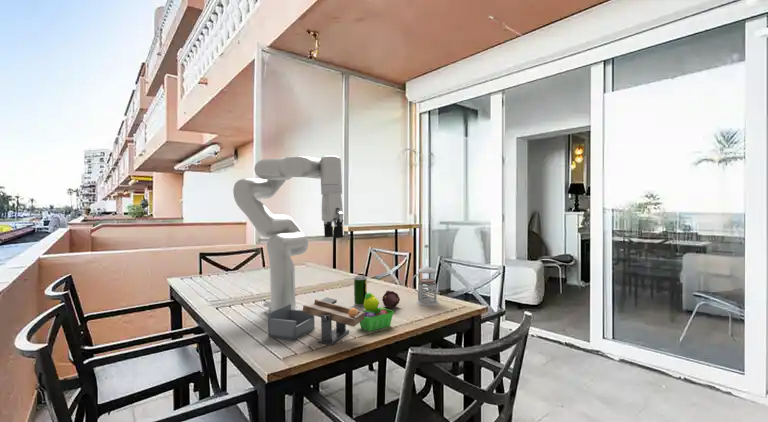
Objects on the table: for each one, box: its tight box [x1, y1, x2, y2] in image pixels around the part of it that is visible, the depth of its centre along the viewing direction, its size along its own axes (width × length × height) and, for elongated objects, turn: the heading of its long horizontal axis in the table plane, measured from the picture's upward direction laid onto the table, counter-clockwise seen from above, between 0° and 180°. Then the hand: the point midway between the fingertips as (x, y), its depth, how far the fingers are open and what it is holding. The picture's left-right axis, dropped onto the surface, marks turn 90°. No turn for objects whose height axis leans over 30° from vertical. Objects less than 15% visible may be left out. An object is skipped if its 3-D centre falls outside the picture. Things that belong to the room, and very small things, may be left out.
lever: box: [302, 296, 365, 327], centre depth 122 cm, size 18×16×2 cm
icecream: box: [381, 290, 401, 309], centre depth 153 cm, size 7×7×15 cm
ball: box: [348, 307, 359, 318], centre depth 116 cm, size 3×3×3 cm
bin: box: [267, 304, 316, 342], centre depth 123 cm, size 10×12×8 cm
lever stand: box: [317, 315, 350, 346], centre depth 118 cm, size 5×13×8 cm, turn 161°
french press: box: [411, 244, 440, 307], centre depth 159 cm, size 10×12×25 cm
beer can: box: [353, 274, 368, 307], centre depth 158 cm, size 5×5×12 cm
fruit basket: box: [359, 292, 395, 332], centre depth 129 cm, size 11×9×11 cm
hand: (333, 237), depth 134 cm, fingers open, 9 cm apart
